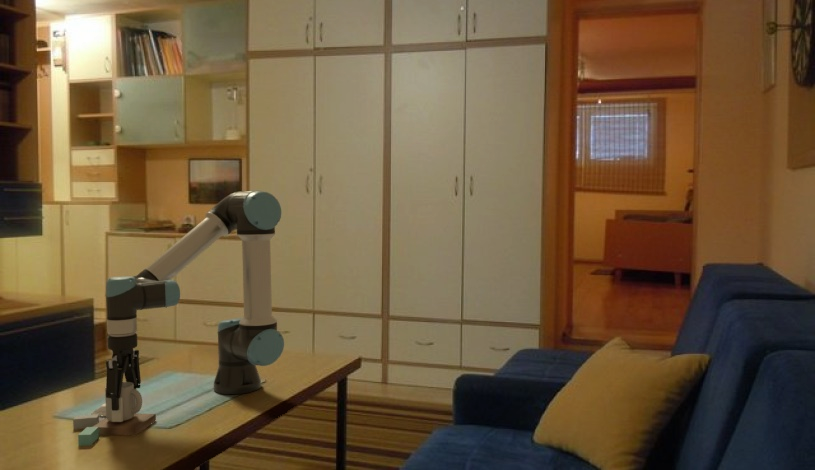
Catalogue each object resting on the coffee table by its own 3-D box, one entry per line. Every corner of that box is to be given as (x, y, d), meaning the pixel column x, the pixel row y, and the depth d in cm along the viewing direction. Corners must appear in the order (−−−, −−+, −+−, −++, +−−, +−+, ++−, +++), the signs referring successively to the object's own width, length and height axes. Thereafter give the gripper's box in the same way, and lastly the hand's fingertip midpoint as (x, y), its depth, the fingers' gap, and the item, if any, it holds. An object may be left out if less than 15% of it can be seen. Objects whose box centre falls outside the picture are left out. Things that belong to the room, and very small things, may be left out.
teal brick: (87, 438, 180) (86, 427, 180) (98, 437, 181) (98, 426, 180) (78, 446, 174) (78, 435, 174) (90, 446, 175) (90, 434, 175)
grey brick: (99, 424, 191) (98, 414, 191) (97, 428, 188) (97, 417, 188) (75, 426, 190) (75, 415, 190) (73, 430, 187) (73, 419, 187)
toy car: (97, 411, 204) (97, 397, 203) (138, 411, 204) (138, 396, 204) (88, 418, 197) (88, 403, 197) (130, 417, 198) (130, 402, 198)
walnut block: (155, 420, 194) (155, 413, 193) (135, 435, 182) (135, 428, 182) (115, 419, 195) (114, 412, 194) (92, 434, 183) (91, 427, 183)
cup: (115, 413, 192) (114, 381, 192) (149, 414, 191) (148, 382, 190) (100, 421, 185) (99, 388, 185) (135, 422, 184) (134, 389, 183)
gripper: (127, 326, 197) (129, 405, 198) (88, 341, 177) (91, 428, 178) (152, 326, 196) (154, 405, 198) (116, 341, 176) (119, 429, 178)
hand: (124, 416), depth 188 cm, fingers closed on cup, 7 cm apart
